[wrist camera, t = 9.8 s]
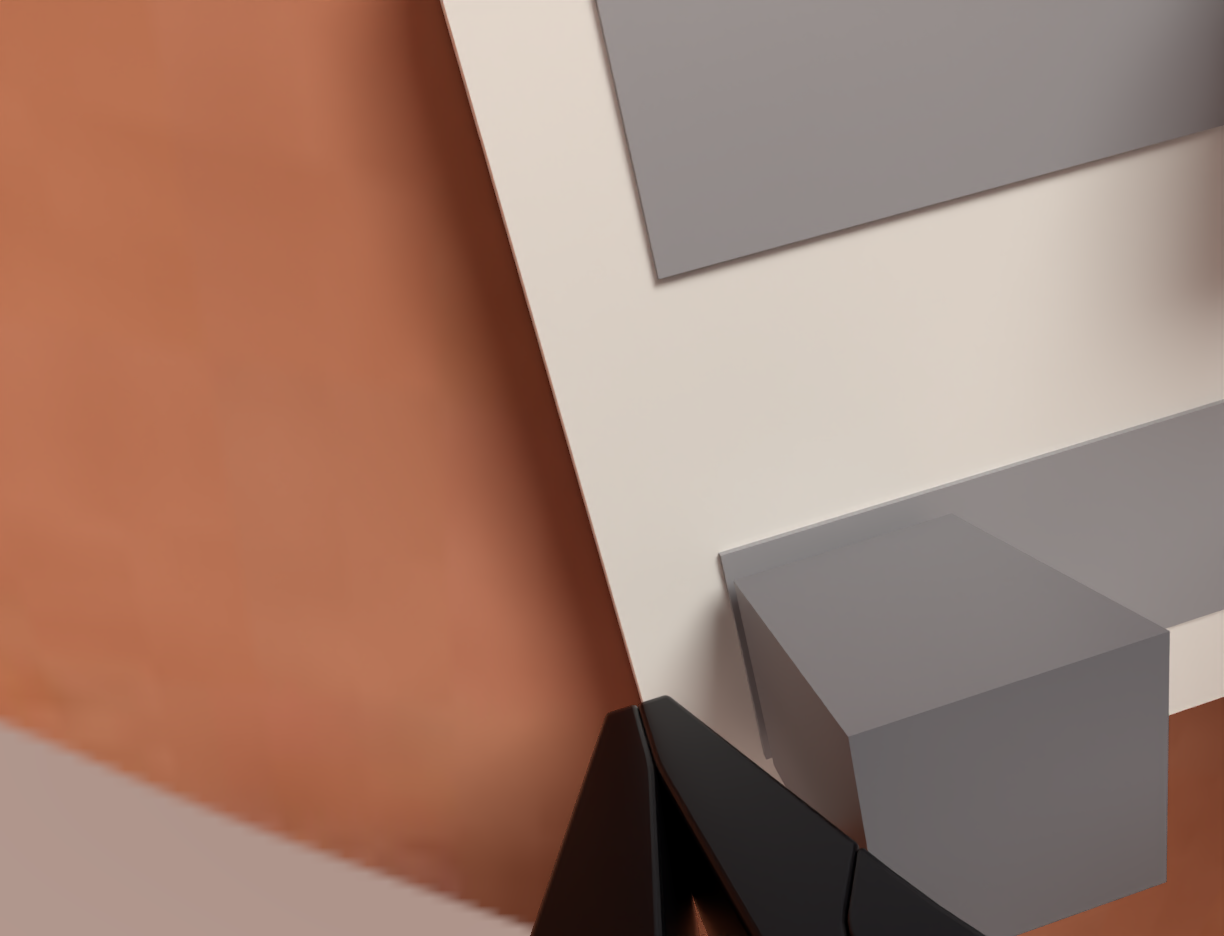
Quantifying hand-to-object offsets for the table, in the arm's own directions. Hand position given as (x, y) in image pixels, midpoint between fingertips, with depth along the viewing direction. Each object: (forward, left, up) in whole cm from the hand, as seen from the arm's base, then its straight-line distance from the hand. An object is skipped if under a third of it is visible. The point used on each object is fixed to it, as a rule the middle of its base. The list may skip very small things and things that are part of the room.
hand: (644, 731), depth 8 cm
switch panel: (-7, -3, -3) cm, 8 cm away
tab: (-3, 0, 0) cm, 3 cm away
